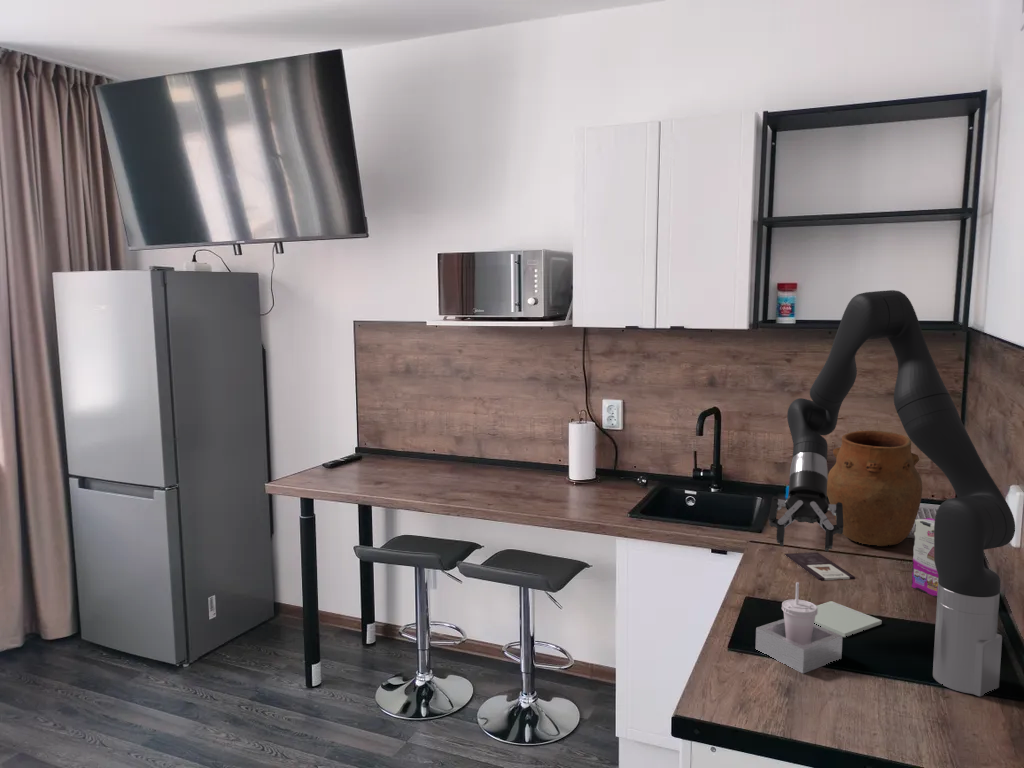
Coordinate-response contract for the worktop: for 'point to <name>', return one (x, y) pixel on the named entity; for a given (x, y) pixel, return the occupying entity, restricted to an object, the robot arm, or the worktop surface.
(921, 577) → the candy bar box
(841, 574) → the chocolate bar
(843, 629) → the sage mat
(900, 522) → the pot
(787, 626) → the smoothie
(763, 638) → the gray square open box
